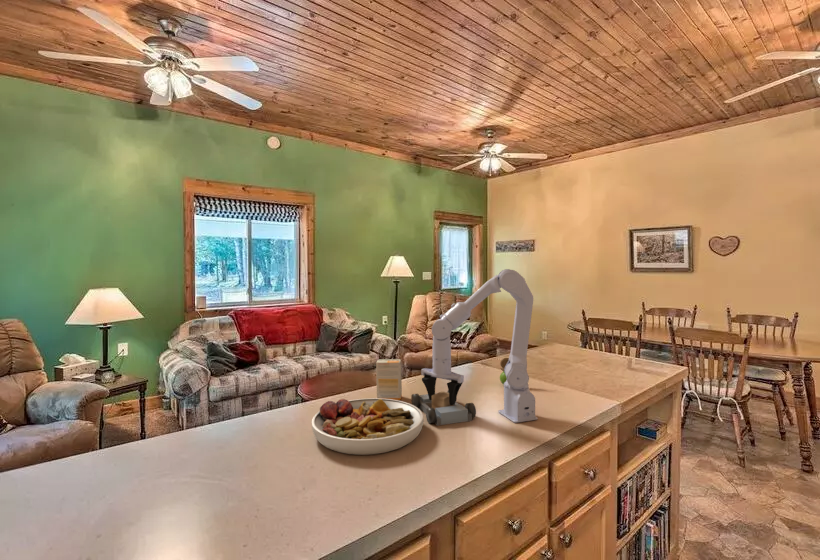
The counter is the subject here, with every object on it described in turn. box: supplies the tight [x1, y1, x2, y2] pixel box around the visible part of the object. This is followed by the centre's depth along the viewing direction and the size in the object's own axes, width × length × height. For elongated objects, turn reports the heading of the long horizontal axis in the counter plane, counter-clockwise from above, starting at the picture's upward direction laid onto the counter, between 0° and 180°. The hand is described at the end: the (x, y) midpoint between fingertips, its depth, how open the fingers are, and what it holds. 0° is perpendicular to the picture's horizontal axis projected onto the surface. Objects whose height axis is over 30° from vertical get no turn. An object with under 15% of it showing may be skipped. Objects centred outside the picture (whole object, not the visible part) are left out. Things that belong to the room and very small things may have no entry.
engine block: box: [432, 390, 454, 409], centre depth 127 cm, size 4×6×5 cm
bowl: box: [311, 397, 424, 456], centre depth 111 cm, size 30×30×8 cm
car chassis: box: [410, 389, 477, 427], centre depth 127 cm, size 19×14×4 cm
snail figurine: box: [499, 357, 509, 385], centre depth 153 cm, size 5×6×12 cm
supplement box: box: [375, 358, 403, 401], centre depth 140 cm, size 8×5×13 cm, turn 84°
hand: (442, 401), depth 127 cm, fingers open, 7 cm apart
